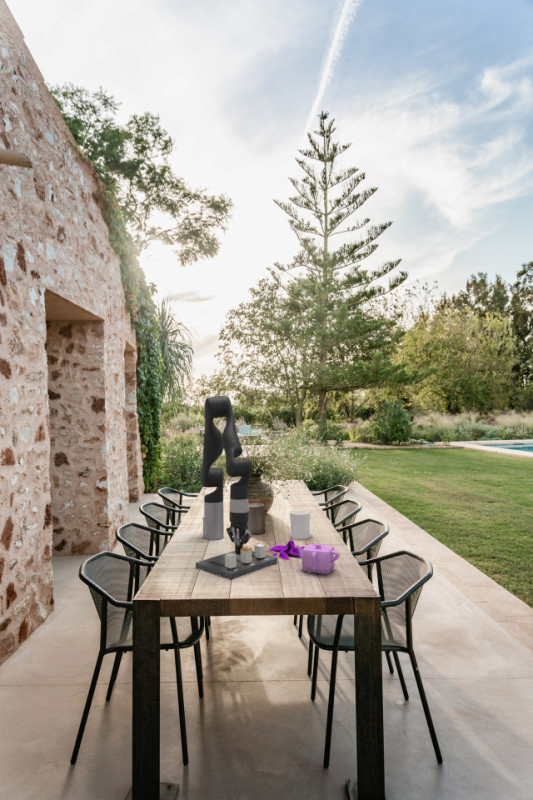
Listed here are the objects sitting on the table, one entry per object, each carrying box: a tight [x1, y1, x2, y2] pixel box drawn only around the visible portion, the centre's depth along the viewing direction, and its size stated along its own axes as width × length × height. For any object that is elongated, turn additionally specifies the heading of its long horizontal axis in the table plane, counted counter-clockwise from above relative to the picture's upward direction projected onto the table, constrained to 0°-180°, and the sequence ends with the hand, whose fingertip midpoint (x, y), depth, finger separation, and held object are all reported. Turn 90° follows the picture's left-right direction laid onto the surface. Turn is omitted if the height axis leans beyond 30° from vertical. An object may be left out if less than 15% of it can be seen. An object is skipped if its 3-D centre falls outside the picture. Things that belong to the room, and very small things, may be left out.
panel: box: [195, 550, 278, 580], centre depth 189 cm, size 20×25×2 cm
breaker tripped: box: [241, 546, 253, 563], centre depth 186 cm, size 3×3×5 cm
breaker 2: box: [254, 543, 267, 558], centre depth 192 cm, size 3×3×4 cm
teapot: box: [294, 543, 340, 576], centre depth 183 cm, size 18×14×10 cm
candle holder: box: [289, 509, 311, 540], centre depth 229 cm, size 10×10×12 cm
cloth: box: [268, 539, 306, 561], centre depth 204 cm, size 22×19×6 cm
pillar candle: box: [247, 501, 266, 535], centre depth 240 cm, size 10×10×15 cm
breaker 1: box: [224, 552, 236, 569], centre depth 180 cm, size 3×3×4 cm
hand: (239, 554), depth 188 cm, fingers closed
